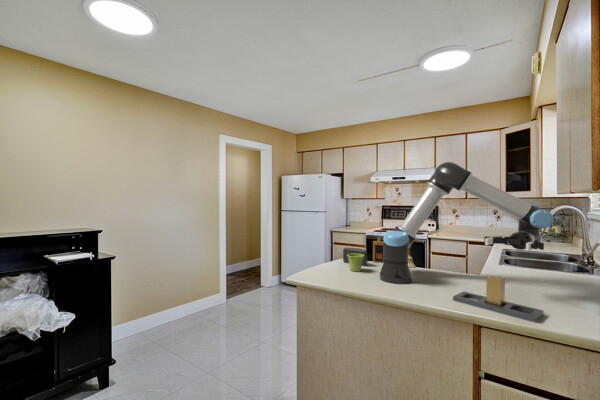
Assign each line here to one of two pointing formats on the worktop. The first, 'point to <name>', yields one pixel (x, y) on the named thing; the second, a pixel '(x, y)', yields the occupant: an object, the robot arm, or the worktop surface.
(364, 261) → the leaning round-cornered charcoal block
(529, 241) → the robot arm
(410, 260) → the hand bell
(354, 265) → the plant pot
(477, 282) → the worktop surface
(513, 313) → the grey slotted tray
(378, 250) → the multimeter
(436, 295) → the worktop surface
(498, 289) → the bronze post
